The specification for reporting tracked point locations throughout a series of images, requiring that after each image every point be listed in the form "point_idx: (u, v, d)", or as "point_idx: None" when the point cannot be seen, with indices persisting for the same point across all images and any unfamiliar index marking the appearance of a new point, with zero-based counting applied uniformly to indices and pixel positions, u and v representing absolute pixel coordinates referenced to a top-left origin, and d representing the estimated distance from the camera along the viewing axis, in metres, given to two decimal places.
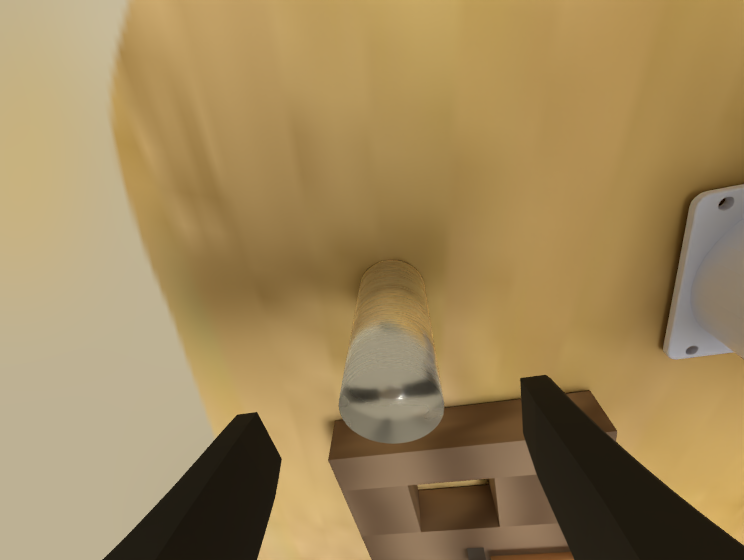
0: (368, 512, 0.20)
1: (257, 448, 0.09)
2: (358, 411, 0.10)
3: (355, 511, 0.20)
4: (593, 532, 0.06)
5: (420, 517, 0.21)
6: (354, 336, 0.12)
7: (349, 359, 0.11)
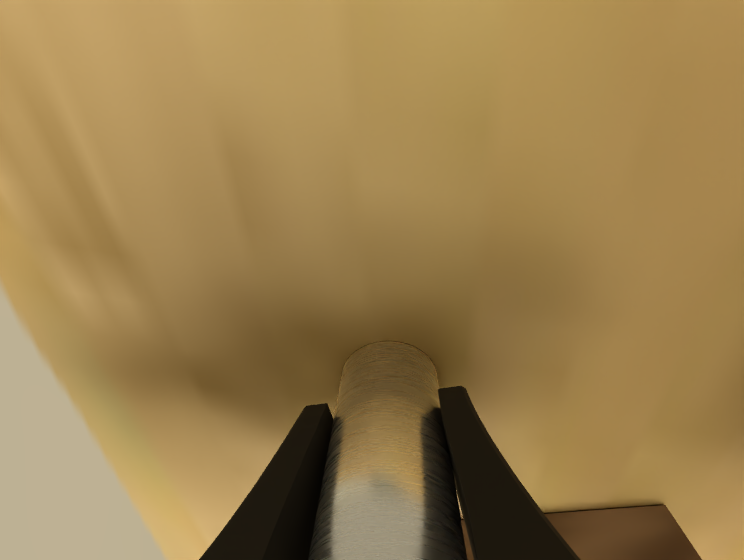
0: None
1: (329, 440, 0.09)
2: None
3: None
4: (472, 540, 0.06)
5: None
6: (320, 529, 0.06)
7: None
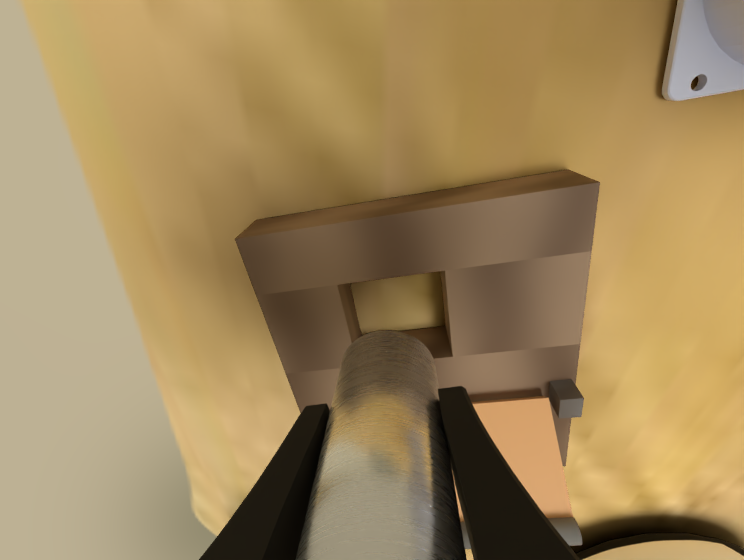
0: (291, 332, 0.16)
1: None
2: None
3: (275, 331, 0.16)
4: (472, 540, 0.06)
5: None
6: (314, 499, 0.06)
7: None
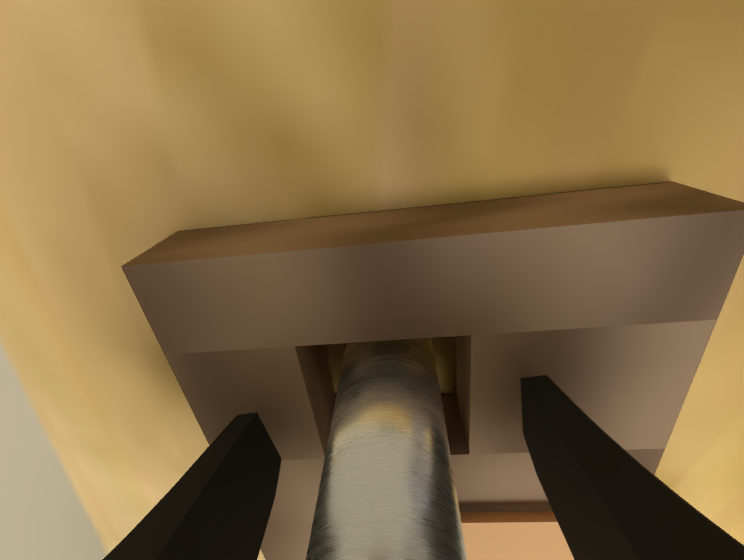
0: (224, 409, 0.10)
1: (257, 448, 0.09)
2: None
3: (199, 406, 0.10)
4: (593, 532, 0.06)
5: None
6: (330, 453, 0.08)
7: (319, 504, 0.07)
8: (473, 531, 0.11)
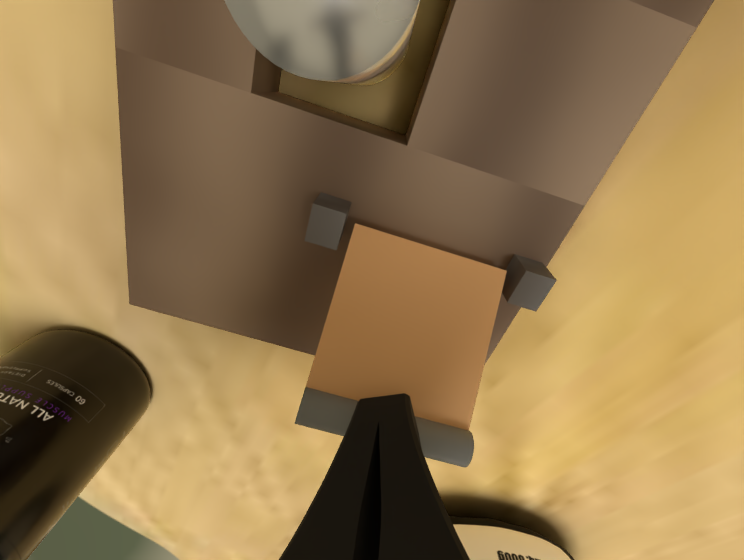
0: None
1: None
2: None
3: None
4: None
5: (261, 88, 0.10)
6: None
7: None
8: (377, 238, 0.11)
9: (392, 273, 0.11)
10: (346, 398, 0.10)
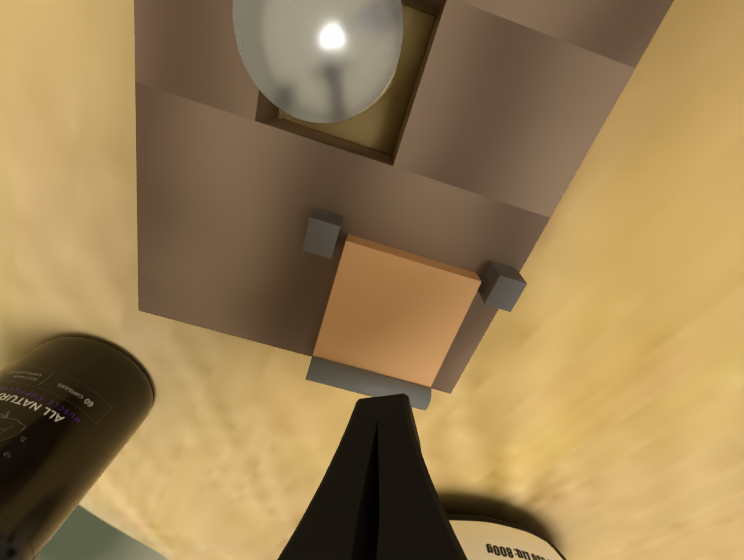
0: None
1: None
2: (263, 17, 0.06)
3: None
4: None
5: (264, 116, 0.12)
6: None
7: None
8: (365, 254, 0.12)
9: (378, 282, 0.12)
10: (341, 364, 0.14)
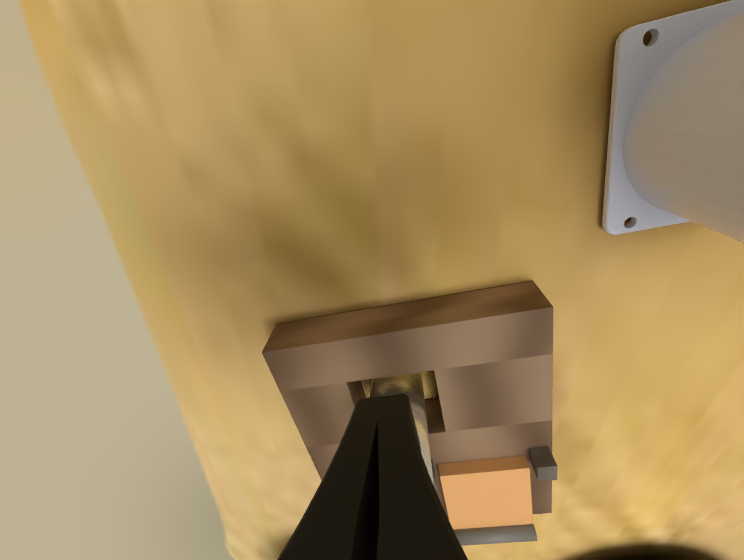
0: (310, 417, 0.20)
1: None
2: None
3: (296, 416, 0.20)
4: None
5: None
6: None
7: None
8: (454, 478, 0.20)
9: (468, 487, 0.20)
10: (470, 528, 0.22)
